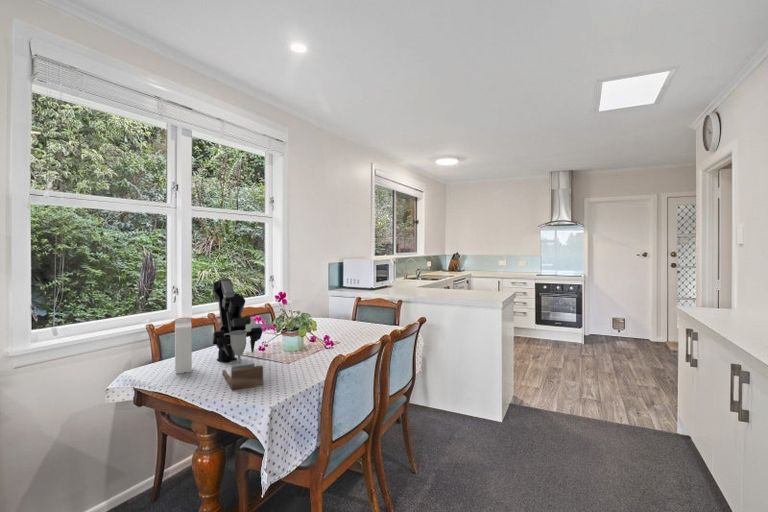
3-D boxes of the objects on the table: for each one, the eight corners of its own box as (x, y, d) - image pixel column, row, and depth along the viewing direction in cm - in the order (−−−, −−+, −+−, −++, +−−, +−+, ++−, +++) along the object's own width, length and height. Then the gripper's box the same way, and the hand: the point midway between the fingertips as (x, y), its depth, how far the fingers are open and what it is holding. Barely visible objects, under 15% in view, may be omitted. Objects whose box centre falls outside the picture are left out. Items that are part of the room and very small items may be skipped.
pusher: (231, 382, 152) (231, 366, 152) (253, 378, 157) (253, 363, 157) (231, 382, 152) (231, 367, 151) (254, 379, 156) (254, 363, 156)
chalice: (251, 377, 158) (250, 332, 157) (234, 381, 154) (232, 336, 153) (244, 372, 164) (243, 329, 162) (228, 376, 160) (226, 332, 158)
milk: (191, 371, 165) (191, 319, 164) (175, 374, 162) (175, 320, 161) (190, 367, 170) (191, 316, 169) (174, 369, 167) (174, 317, 166)
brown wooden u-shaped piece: (222, 374, 161) (222, 357, 161) (250, 370, 167) (250, 354, 167) (232, 390, 144) (232, 371, 144) (262, 385, 150) (263, 366, 150)
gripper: (213, 311, 157) (218, 345, 147) (261, 307, 166) (268, 339, 157) (210, 327, 163) (214, 361, 154) (256, 323, 173) (263, 354, 164)
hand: (240, 353), depth 157 cm, fingers open, 9 cm apart
